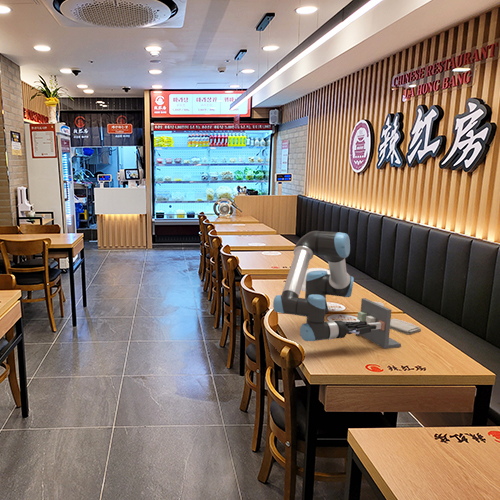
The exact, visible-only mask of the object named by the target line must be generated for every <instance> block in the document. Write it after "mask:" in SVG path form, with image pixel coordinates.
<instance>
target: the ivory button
mask: <svg viewBox="0 0 500 500" xmlns="http://www.w3.org/2000/svg"><path fill="white" fill-rule="evenodd" d="M366 322H367V323H375V322H376V317H374V316H366Z"/></svg>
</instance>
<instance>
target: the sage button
mask: <svg viewBox="0 0 500 500" xmlns="http://www.w3.org/2000/svg"><path fill="white" fill-rule="evenodd" d="M366 316H367V313H365V312H363V311H362V312H361V311H357V316H356V319H357V320H358V321H359V322H360V321H366Z"/></svg>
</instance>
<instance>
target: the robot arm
mask: <svg viewBox="0 0 500 500" xmlns="http://www.w3.org/2000/svg"><path fill="white" fill-rule="evenodd" d="M350 239H351V238H350V236H349V235H348V233H345V232H340V231H339V232H338V231H322V230H321V231H320V230H313V231H309V232H307V233H306V234H305V235H303V236H301V238H300V239H299V240H298V241H297V242H296V244H295V245H294V250H293V254H294V256H293V259H292V261H291V265H290V268H289V271H288V273H287V277H286V281H285V283H284V286H283V289H282V293H281V294H276V295H275V297H274V298H273V304H272V307H273V310H274V312H275V313H279V314H283V315H284V314H286V315H293V316H300V317H306V322H304V323H302V324H301V325H300V328H299V334H300V337H301V339H302V340H303V341H305V342H315V341H324V340H325V341H326V340H327V341H329V340H333V339H334V340H335V339H344V338H346V336H347V335H353V334H355V336H356V337H358V336H362V335H361V334H365V333H369V332H371V330H376V329H381V325H382V323H380V322H376V323H367V322H366V321H365V323H363V322H360V321H344V320H329V321H325V317H326V314H328V312H329V308H328V307H329V306H328V303H327V299H326V298H327V296H332V297H333V296H335V297H343V298H350V297H351V296H352V293H353V292H352V291H353V286H354V280H355V278H354V276H351V275H350V274H349V273H348V272H347V264H346V258H348V257H349V255H350V253H351V244H350V243H351V241H350ZM314 255H315V256H323V257H324V259H325V260H326V261H327V263H328V268H329V269H328V270H330V274H328V273H327V271H322V270H319V271H311V272H309V273H307V276H306V290H305V292H304V293H305V294H304V298H303V297H300V294H301V288H302V284H303V281H304V278H305V274H306V271H307V269H309V268H308V267H309V264H310V260H312V259H313V257H314Z"/></svg>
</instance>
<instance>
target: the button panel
mask: <svg viewBox="0 0 500 500" xmlns="http://www.w3.org/2000/svg"><path fill="white" fill-rule="evenodd" d="M360 301H361V303H360V312H362V311H363V312H365V313H367V316H374V317H376V322H379V320H382V321H384V322H385V330H384V331H383V330H381V329H376V330H371V332H369V333H365V334H361V335H360V336H362V337H363V338H365V339H367V340H368V341H370V342H372V343H373V344H376V345H378V346H379V347H381V348H382V349H384V350H385V349H394V348H401V347H402V343H401V342H399V341H397V340H395V339H393V338H391V337H390V331H391V329H390V321H391V319H392V309H390V308H388V307H386V306H385V305H384V306H382V305H379V304H377V303H375V302H376V301H372V300H370V299H368V298H361V300H360ZM359 322H363V323H365V321H360V320H359ZM376 322H375V323H376Z"/></svg>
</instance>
